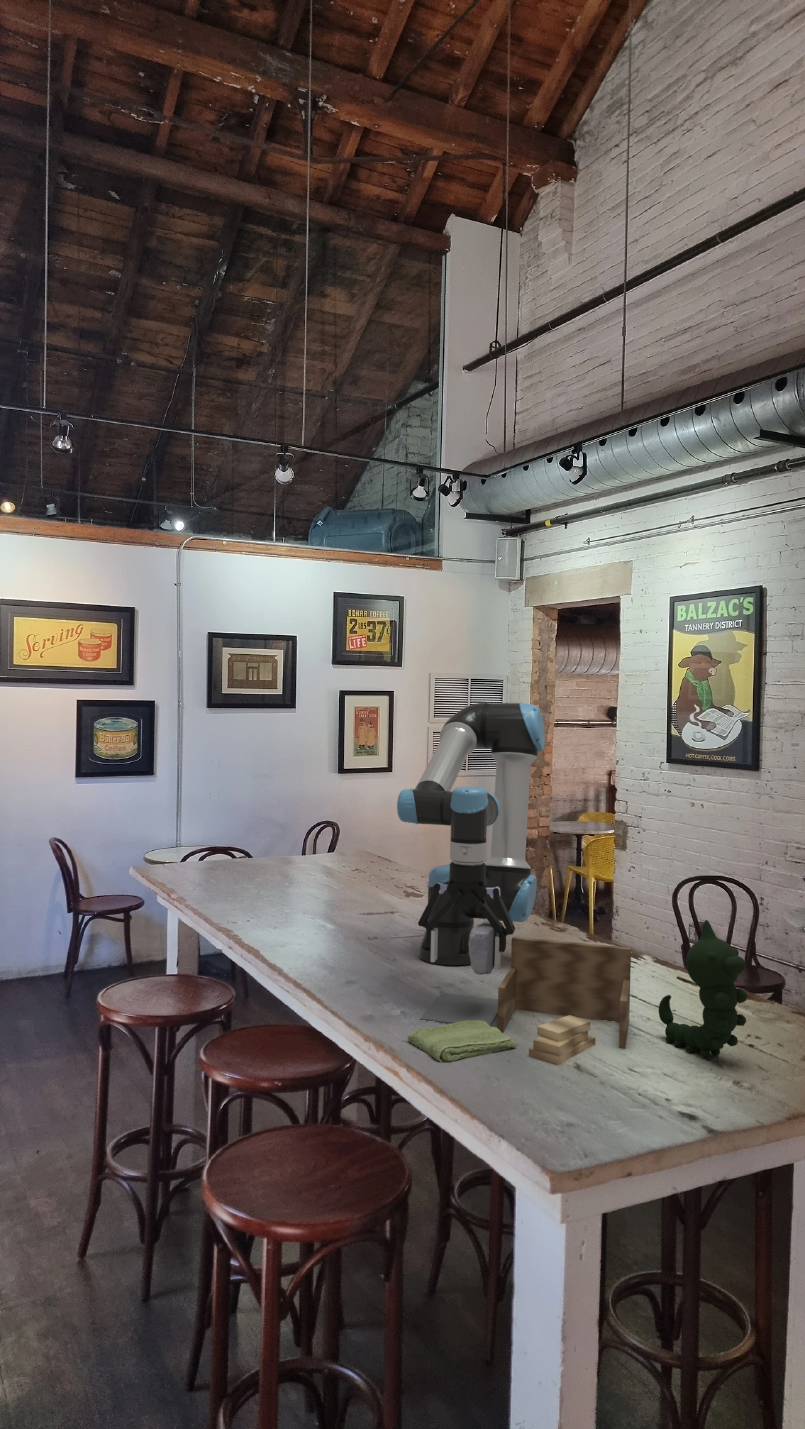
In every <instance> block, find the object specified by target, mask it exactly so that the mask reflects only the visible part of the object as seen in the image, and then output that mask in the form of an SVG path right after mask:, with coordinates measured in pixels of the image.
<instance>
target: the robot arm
mask: <svg viewBox="0 0 805 1429" xmlns="http://www.w3.org/2000/svg"><path fill="white" fill-rule="evenodd" d="M545 742H546V735H545V725H544V719H543V714H542V712H541V710H540V707H538V706H537V704H536V705H535V704H529V703H522V702H520V703H518V702H517V703H515V702H512V703H511V702H510V703H508V702H506V703H505V702H501V703H499V702H478V703H473V704H470V705H468V706H466V707H464V708H462V709H460V710H459V711H457V712H456V713H454V714H453V715H452V716H450V717H449V719H448V720H447V721H446V722H445V723H444V725H443V726H442V728H441V730H440V733H439V743H438V745H437V747H436V749H435V750H434V752H433V754H432V756H431V759H430V760H429V762H428V764H427V766H426V767H425V770H424V772H423V774H422V775H421V777H420V779H419V781H418V783H417V785H416V787H415V788H409V789H408V788H405V789H402V790H400V792H399V795H398V797H397V802H396V811H397V815H398V819H399V820H400V821H401V822H403V823H408V824H409V823H411V824H415V825H418V824H419V825H439V826H450V841H449V859H450V860H451V862H450V863H447V864H444V865H438V866H434V867H433V868H432V869H431V870H430V871H429V875H428V883H427V884H428V885H427V905H426V906H425V908H424V910H423V912H422V914H421V916H420V918H419V920H418V922H417V924H418V926H419V927H423V928H425V931H424V934H423V937H422V940H421V943H420V946H419V958H420V957H421V958H420V959H421V960H423V961H425V962H429V963H431V964H437V965H444V966H464V965H471V961H470V956H469V945H468V944H469V938H470V932H471V930H472V929H473V928H474V927H475V926H474V922H475V919H479V920H484V919H487V920H488V921H489V922H490V924H491V925H492V926H493V928H494V929H495V930H496V932H497V933H498V934H497V935H496V937H495V966H494V968H493V969H495V970H499V968H500V967H501V961H502V960H501V959H502V958H501V957H502V956H501V955H502V953H504V952H505V950H506V948H507V936H509V935H510V936H511V935H513V934H514V933H515V931H516V927H515V924H514V923H523V922H527V921H528V920H529V918H530V916H531V915H532V911H533V909H534V905H535V901H536V895H537V889H538V888H537V887H538V886H537V885H538V884H537V883H538V879H537V878H538V877H537V876H536V875H534V874H531V873H532V868H531V866H530V865H529V864H528V862H527V861H526V848H527V834H528V833H527V831H528V818H529V817H528V816H529V800H530V798H529V797H530V781H531V765H532V764H533V762H535V761H536V760H537V759H538V752H541V751H543V750H544V749H545ZM476 749H491V751H490V756H491V757H492V758H493V760H494V761H495V762H496V763H495V764H496V766H495V779H494V780H495V781H494V794H493V793H491V792H488V791H487V789H485V788H484V787H479V786H478V787H477V786H458V787H455V788H453V786H454V785H455V782H456V781H457V778H458V776H459V774H460V772H461V769H462V767H463V766H464V763H465V761H466V760H467V757H468V756H469V755H470V754H471V753H473V752H474V751H475V750H476ZM451 790H452V791H451ZM490 826H492V830H491V842H490V843H491V845H490V857H489V859H488V860H487V832H488V831H487V830H488V829H487V828H488V827H490ZM501 923H502V924H501Z"/></svg>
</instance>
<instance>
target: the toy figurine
mask: <svg viewBox="0 0 805 1429" xmlns="http://www.w3.org/2000/svg"><path fill="white" fill-rule="evenodd" d="M739 954H740V953H739V950H738V949H737V948H734V947H733V946H732V945H730V944H729V943H728V942H726V941H724V940H722V939H721V938H718V937H717V935H716V933H715V932H714V929H713V928H712V925H711V924H710V922H709V920H707V919H705V920H704V922H703V926H702V930H701V935H700V938H699V940H697V941H695V942H694V944H692V946H690V948H689V950H688V952H687V954H686V958H685V965H686V970H687V971H686V972H687V973H688V976H689V977H690V979H691V980H692V982H693V983H694V984H695V985H697V986H698V987H699V991H698V995H699V997H698V998H699V1000H700V1003H701V1005H702V1006H703V1009H702V1021H703V1023H702V1025H700V1026H698V1025H688V1024H687V1023H681V1024H679V1023H677V1022H674V1020H675V1019H674V1014H673V1011H672V1009H671V999H672V996H671V994H667V995H664V997H662V999H661V1000H660V1002H659V1005H658V1015H659V1016H658V1017H659V1019H660V1021H661V1022H662V1023H663V1024H664V1025H666V1027H665V1030H664V1032H665V1036H666V1037H665V1041H666V1043H673V1044H674V1046H675V1047H676V1048H681V1047H682V1046H686V1047H685V1050H686V1052H688V1053H693V1052H694V1050H700V1051H699V1054H700V1056H701V1057H702V1058H703V1059H708V1058H709V1057H710V1056H711V1055H712V1056H716V1057H717V1056H719V1055H720V1053H721V1050H722V1049H723V1048H724V1045H728V1046H730V1047H734V1046H737V1045H738V1042H739V1040H738V1037H737V1036H736V1035H735V1034H732V1032H733V1031H734V1030H735V1029H736V1028H737V1026H738V1027H739V1026H740V1027H744V1026H745V1025H746V1023H747V1018H746V1017H745V1016H744V1015H743V1014H740V1013H739V1014H738V1011H737V1009H736V1007H737V1004H742V1003H745V1002H746V1001H747V1000H748V994H747V991H746V990H744V989H743V988H741V987H740V988H737V986H736V985H735V982H736V981H737V979H738V978H739V976H740V974H742V973H743V972H744V971H745V970H746V966H747V964H746V961H745V958H743V957H741V956H739Z"/></svg>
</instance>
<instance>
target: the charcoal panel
mask: <svg viewBox="0 0 805 1429" xmlns="http://www.w3.org/2000/svg"><path fill="white" fill-rule="evenodd" d="M497 1017H498V998H493V997H492V998H490V997H481V996H472V995H464V994H455V993H454V994H453V993H448V992H447V993H446V992H445V993H444V992H441V993H440V994H439V995H438V997H437V998H436V999H435V1000H434V1001H433V1002H432V1004H431V1005H430V1006H429V1007H428V1008H427V1009H426V1011H425V1012H424V1013H423V1014H422V1015H421V1017H420V1019H419V1021H421V1020H426V1021H425V1022H428V1021H435V1022H434V1023H436V1022H438V1023H437V1024H443V1023H445V1024H444V1025H446V1024H453V1023H457V1022H461V1021H475V1020H481V1021H485V1022H486V1023H487V1024H488V1025H489V1026H491V1027H492V1025H493V1023H494V1022H495V1019H496V1018H497Z"/></svg>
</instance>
